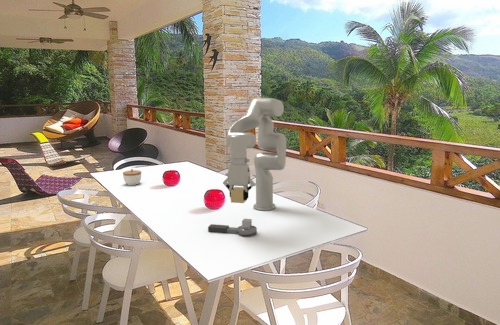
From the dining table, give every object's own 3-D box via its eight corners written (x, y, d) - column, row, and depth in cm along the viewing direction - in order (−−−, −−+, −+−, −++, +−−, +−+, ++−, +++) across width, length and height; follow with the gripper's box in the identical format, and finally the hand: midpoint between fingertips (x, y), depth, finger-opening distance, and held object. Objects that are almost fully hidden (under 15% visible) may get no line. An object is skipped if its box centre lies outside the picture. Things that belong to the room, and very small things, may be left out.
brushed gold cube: (235, 199, 191) (234, 186, 190) (247, 199, 189) (246, 187, 188) (230, 202, 185) (230, 189, 184) (243, 203, 184) (243, 190, 183)
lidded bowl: (120, 185, 286) (118, 169, 284) (134, 181, 296) (133, 167, 294) (131, 187, 279) (130, 171, 277) (145, 183, 289) (144, 168, 287)
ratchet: (212, 227, 195) (212, 214, 194) (258, 230, 190) (258, 217, 188) (206, 233, 187) (205, 220, 186) (254, 237, 181) (253, 223, 180)
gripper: (258, 160, 185) (258, 198, 188) (223, 159, 190) (224, 196, 193) (254, 163, 178) (254, 202, 181) (218, 162, 183) (219, 200, 186)
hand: (239, 198), depth 187 cm, fingers closed on brushed gold cube, 6 cm apart
